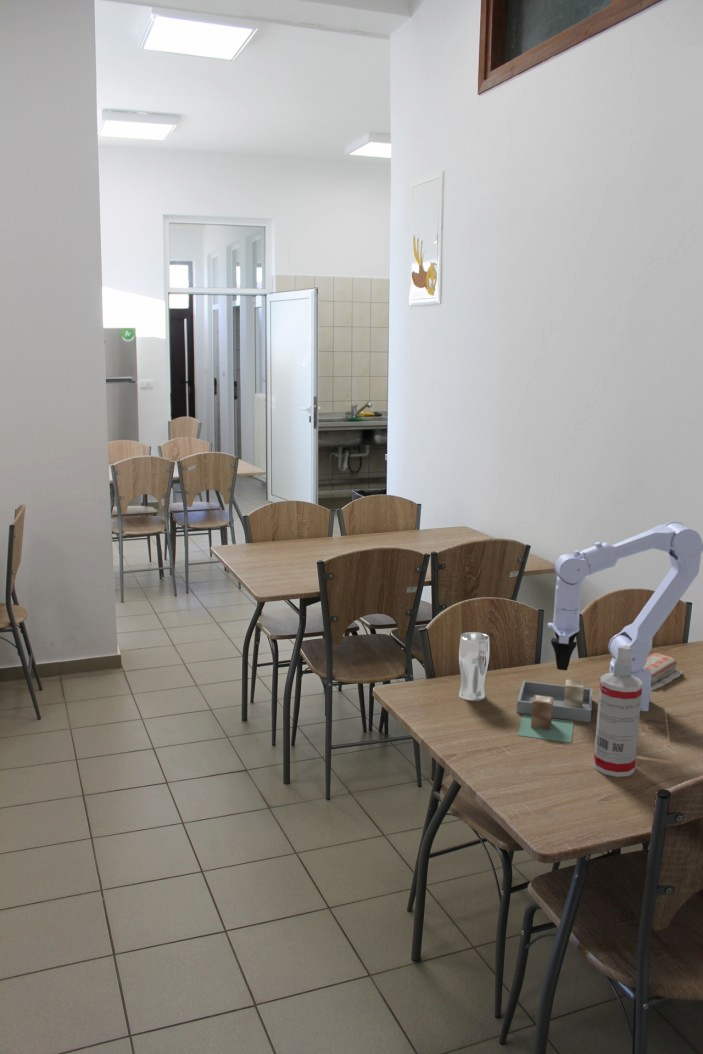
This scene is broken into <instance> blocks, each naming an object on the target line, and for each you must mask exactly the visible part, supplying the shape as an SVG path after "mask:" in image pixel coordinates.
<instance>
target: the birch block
mask: <svg viewBox="0 0 703 1054" xmlns="http://www.w3.org/2000/svg"><path fill="white" fill-rule="evenodd" d="M564 686H565V696H564V706H567V707H575V708H582V704H583V691H584V688H585V681H583V680H575V679H566V680H565V685H564Z"/></svg>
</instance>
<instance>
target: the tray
mask: <svg viewBox="0 0 703 1054" xmlns="http://www.w3.org/2000/svg"><path fill="white" fill-rule="evenodd" d="M593 690H594V689H593V688H587V687H584V691H583V704H582V708H575V707H567V706H564V696H565V685H562V684H555V683H546V682H545V683H544V682H540V681H539V682H538V681H537V682H536V681H527V680H522V683H521V686H520V690H519V694H518V698H517V700H516V713H517V714H522V715H529V716H532V703H533V698H534V695H541V696H548V697H553V708H552V719H560V720H567V721H576V722H583V723H584V722H586V723H591V719H592V705H593V704H592V703H593Z"/></svg>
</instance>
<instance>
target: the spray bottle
mask: <svg viewBox="0 0 703 1054" xmlns="http://www.w3.org/2000/svg"><path fill="white" fill-rule="evenodd" d="M630 649H631V648H630V646H628V645H623V646H619V647H618V653H617V657H616V659H615V661H614V668H613V673H609V672H607V673H604V674H603V675H601V676H600V678H599V679H600V680H599V681H600V682H599V691H598V693H599V694H598V704H597V713H596V715H597V716H596V726H595V727H596V728H595V740H594V752H593V754H594V755H593V765H594V768H595V770H597V771H598V772H600V773H601V774H602V775H603V774H604V775H606V776H612V777H617V778H619V777H629V776H631V775H632V774H633V773H635V772H636V771H635V768H636V760H637V758H636V757H637V748H638V747H637V746H638V739H639V738H638V737H639V725H640V714H641V710H640V706H641V695H642V685H643V684H642V682H641V680H640V679H639V678H637V677H634V676H632V675H631V660H630Z"/></svg>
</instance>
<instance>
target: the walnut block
mask: <svg viewBox="0 0 703 1054" xmlns="http://www.w3.org/2000/svg"><path fill="white" fill-rule="evenodd" d="M552 708H553V697H548V696H541V695H534V698H533V703H532V715H531V716H532V718H531V728H536V729H543V730H550V727H551V722H552V719H553V717H552Z"/></svg>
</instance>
